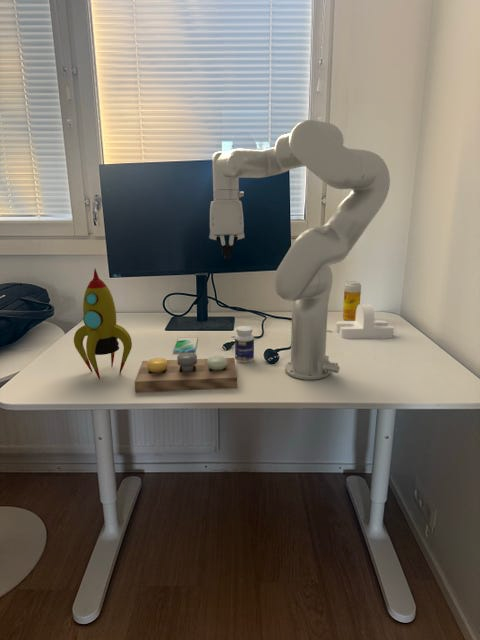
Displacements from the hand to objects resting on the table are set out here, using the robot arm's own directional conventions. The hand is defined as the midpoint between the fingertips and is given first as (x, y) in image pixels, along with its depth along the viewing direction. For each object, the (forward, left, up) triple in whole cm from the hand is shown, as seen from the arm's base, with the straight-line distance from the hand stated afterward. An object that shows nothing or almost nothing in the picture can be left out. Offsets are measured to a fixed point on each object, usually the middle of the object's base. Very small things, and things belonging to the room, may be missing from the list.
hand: (227, 258), depth 135 cm
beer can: (-25, -49, -29) cm, 62 cm away
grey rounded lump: (-4, +27, -27) cm, 39 cm away
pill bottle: (-10, +7, -29) cm, 32 cm away
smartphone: (+13, +6, -30) cm, 33 cm away
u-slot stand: (-34, -35, -30) cm, 57 cm away
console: (-4, +27, -29) cm, 40 cm away
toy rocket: (+19, +35, -29) cm, 49 cm away
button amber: (+3, +32, -28) cm, 43 cm away
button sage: (-11, +22, -28) cm, 38 cm away
